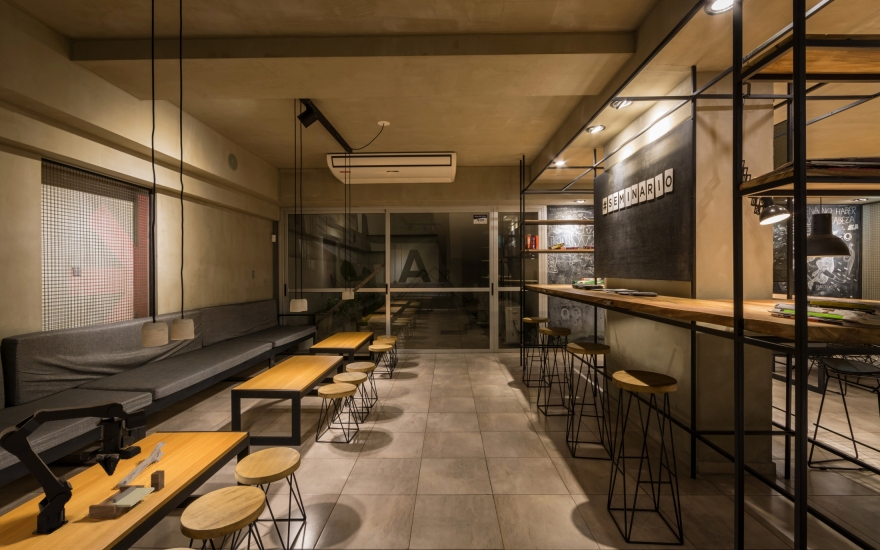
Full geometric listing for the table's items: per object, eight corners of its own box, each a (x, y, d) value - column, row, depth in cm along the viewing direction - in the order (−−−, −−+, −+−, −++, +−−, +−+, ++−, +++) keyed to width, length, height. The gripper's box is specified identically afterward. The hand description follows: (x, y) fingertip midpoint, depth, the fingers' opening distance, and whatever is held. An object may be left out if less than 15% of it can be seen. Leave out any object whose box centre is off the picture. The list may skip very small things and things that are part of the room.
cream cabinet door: (130, 506, 135) (130, 500, 136) (107, 507, 135) (107, 500, 135) (154, 489, 147) (154, 483, 147) (133, 489, 147) (133, 483, 147)
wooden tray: (113, 518, 134) (114, 506, 134) (88, 518, 134) (89, 506, 134) (144, 496, 148) (144, 485, 148) (121, 496, 148) (121, 485, 148)
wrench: (118, 496, 154) (162, 454, 183) (122, 495, 154) (166, 454, 184) (116, 477, 153) (161, 439, 183) (121, 477, 153) (165, 439, 183)
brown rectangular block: (158, 491, 151) (158, 474, 152) (150, 491, 151) (150, 474, 152) (164, 487, 155) (164, 470, 155) (156, 487, 155) (156, 470, 155)
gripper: (152, 425, 150) (151, 464, 149) (105, 426, 150) (105, 465, 149) (129, 437, 139) (128, 479, 138) (79, 437, 138) (78, 479, 138)
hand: (110, 475), depth 141 cm, fingers closed
